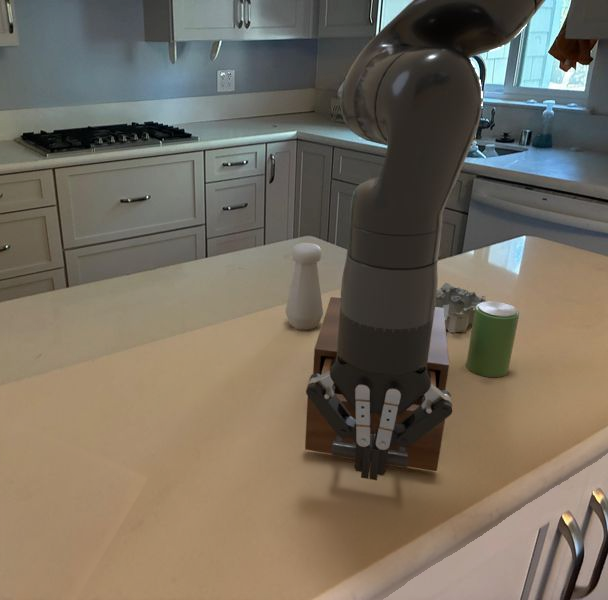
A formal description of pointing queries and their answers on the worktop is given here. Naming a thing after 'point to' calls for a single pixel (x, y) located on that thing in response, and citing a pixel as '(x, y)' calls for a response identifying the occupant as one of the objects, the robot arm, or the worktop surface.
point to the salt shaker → (305, 288)
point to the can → (492, 338)
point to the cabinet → (437, 348)
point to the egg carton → (457, 307)
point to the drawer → (328, 441)
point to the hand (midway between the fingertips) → (369, 473)
